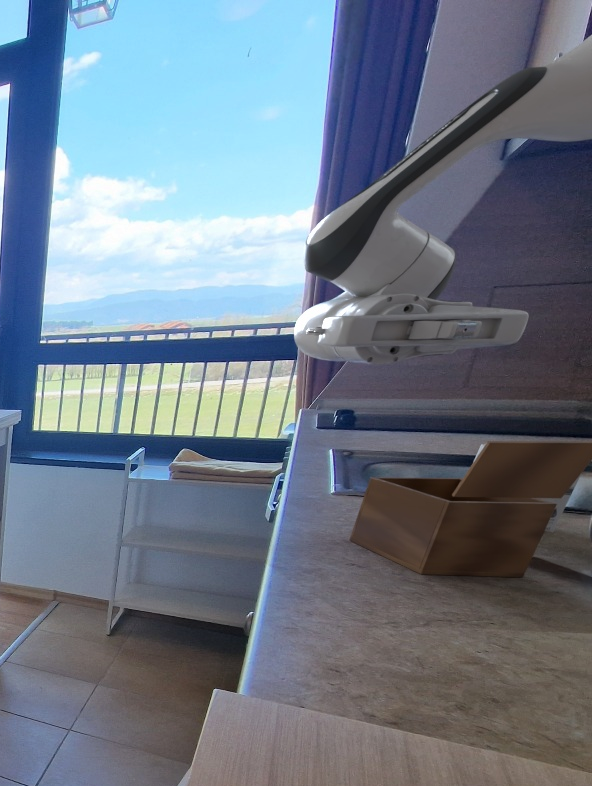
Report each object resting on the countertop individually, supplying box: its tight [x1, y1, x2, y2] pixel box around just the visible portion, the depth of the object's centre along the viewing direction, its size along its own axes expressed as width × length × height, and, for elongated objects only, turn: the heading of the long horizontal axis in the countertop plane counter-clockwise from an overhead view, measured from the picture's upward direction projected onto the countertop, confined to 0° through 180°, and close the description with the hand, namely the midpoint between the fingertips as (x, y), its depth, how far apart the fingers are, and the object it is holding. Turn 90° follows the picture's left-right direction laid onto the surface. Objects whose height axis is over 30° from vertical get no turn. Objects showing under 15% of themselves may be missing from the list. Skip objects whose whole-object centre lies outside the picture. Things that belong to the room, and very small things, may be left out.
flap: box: [452, 440, 592, 498], centre depth 65 cm, size 10×6×1 cm
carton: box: [348, 476, 557, 578], centre depth 75 cm, size 10×13×8 cm
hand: (465, 329), depth 73 cm, fingers closed
